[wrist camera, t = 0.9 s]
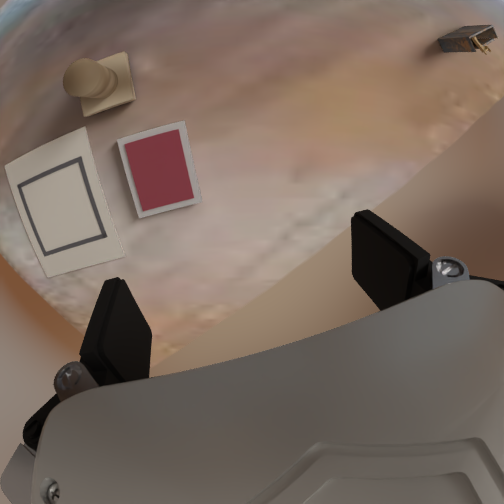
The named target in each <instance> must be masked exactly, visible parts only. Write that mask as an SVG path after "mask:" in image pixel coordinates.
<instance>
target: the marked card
mask: <svg viewBox="0 0 504 504" xmlns="http://www.w3.org/2000/svg"><path fill="white" fill-rule="evenodd" d="M5 170H6V174H7V177H8V181H9V184H10V187H11V190H12V193H13V196H14V199H15V202H16V205H17V208H18V211H19V214H20V216H21V219H22V222H23V224H24V227H25V229H26V232H27V234H28V236H29V239H30V241H31V244H32V246H33V248H34V250H35V253H36V255H37V257H38V259H39V261H40V263H41V265H42V267H43V269H44V272H45V274H46V276H47V277H48V278H49V277H53V276H56V275H60V274H63V273H67V272H70V271H74V270H77V269H81V268H85V267H88V266H92V265H96V264H99V263H103V262H107V261H111V260H114V259H118V258H122V257H125V256H126V255H125V252H124V250H123V247H122V245H121V242H120V239H119V237H118V234H117V231H116V228H115V226H114V223H113V220H112V217H111V214H110V211H109V208H108V205H107V202H106V199H105V196H104V193H103V190H102V186H101V183H100V180H99V176H98V173H97V169H96V166H95V162H94V159H93V155H92V151H91V147H90V143H89V139H88V135H87V131H86V126H85V127H82V128H80V129H77V130H75V131H73V132H70V133H68V134H66V135H64V136H61V137H59V138H57V139H55V140H53V141H50V142H48V143H46V144H44V145H42V146H40V147H38V148H36V149H34V150H32V151H30V152H28V153H27V154H25V155H23V156H21V157H19V158H17V159H16V160H14V161H12V162H10V163H9V164H7V165H5Z"/></svg>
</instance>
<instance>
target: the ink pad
mask: <svg viewBox="0 0 504 504" xmlns="http://www.w3.org/2000/svg"><path fill="white" fill-rule="evenodd" d="M117 142H118V146H119V150H120V154H121V158H122V161H123V165H124V169H125V173H126V176H127V180H128V183H129V187H130V190H131V193H132V197H133V200H134V203H135V207H136V210H137V213H138V216H139V218H143V217H146V216H150V215H154V214H157V213H161V212H165V211H169V210H173V209H176V208H180V207H184V206H188V205H192V204H197V203H201V202H202V197H201V193H200V189H199V184H198V180H197V175H196V171H195V166H194V162H193V157H192V153H191V148H190V144H189V139H188V134H187V129H186V125H185V120H184V121H180V122H176V123H172V124H168V125H164V126H160V127H157V128H153V129H150V130H146V131H143V132H139V133H136V134H133V135H130V136H127V137H124V138H120V139H118V140H117Z"/></svg>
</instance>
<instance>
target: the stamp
mask: <svg viewBox="0 0 504 504" xmlns="http://www.w3.org/2000/svg"><path fill="white" fill-rule="evenodd" d="M63 86H64V89H65V91H66V92H67V93H68V94H69V95H72V96H78V97H80V100H81V106H82V111H83V115H84V117H86V116H91V115H94V114H96V113H99V112H102V111H104V110H107V109H110V108H113V107H116V106H119V105H122V104H125V103H128V102H131V101H134V100H136V97H135V92H134V87H133V82H132V76H131V71H130V65H129V59H128V54H127V53H125V52H124V51H123V52H120V53H118V54H115V55H112V56H109V57H106V58H104V59H101V60H98V61H96V62H95V61H93V60H91V59H88V58H83V59H79V60H77V61H75V62H73V63H72V64H71V65H70V66H69V67H68V69H67V70H66V72H65V74H64V77H63Z"/></svg>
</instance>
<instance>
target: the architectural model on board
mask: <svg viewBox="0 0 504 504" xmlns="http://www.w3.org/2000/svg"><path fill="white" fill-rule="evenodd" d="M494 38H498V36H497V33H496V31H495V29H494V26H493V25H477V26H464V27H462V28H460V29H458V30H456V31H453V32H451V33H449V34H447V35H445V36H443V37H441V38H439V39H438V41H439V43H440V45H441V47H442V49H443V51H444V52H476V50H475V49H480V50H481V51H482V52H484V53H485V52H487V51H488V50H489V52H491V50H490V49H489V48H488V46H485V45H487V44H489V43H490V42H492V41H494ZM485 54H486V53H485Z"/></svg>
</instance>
